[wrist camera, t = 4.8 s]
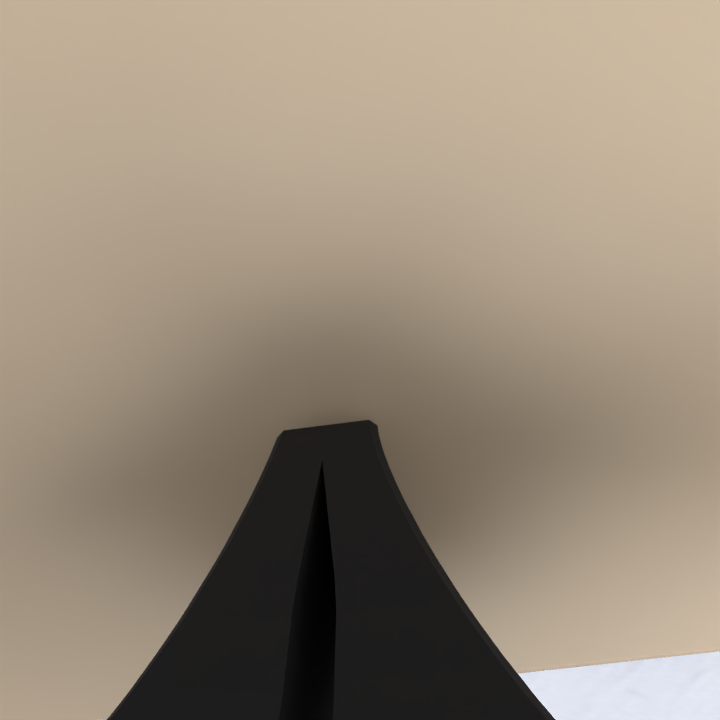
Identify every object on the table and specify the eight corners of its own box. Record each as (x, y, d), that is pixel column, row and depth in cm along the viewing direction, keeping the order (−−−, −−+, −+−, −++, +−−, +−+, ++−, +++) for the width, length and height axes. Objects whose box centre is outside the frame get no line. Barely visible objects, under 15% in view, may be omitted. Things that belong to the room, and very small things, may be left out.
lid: (-14, 705, 12) (-38, 736, 11) (-236, -92, 9) (-286, -118, 8) (763, 619, 11) (789, 645, 10) (757, -244, 9) (791, -284, 8)
